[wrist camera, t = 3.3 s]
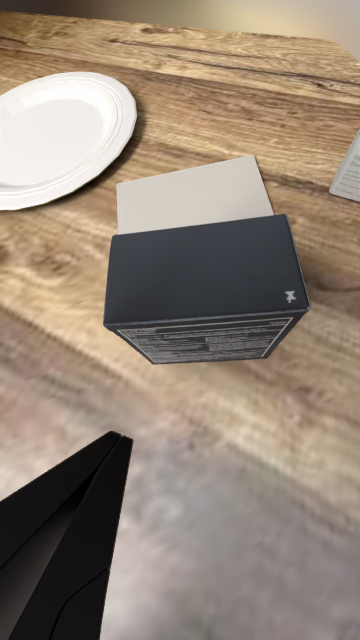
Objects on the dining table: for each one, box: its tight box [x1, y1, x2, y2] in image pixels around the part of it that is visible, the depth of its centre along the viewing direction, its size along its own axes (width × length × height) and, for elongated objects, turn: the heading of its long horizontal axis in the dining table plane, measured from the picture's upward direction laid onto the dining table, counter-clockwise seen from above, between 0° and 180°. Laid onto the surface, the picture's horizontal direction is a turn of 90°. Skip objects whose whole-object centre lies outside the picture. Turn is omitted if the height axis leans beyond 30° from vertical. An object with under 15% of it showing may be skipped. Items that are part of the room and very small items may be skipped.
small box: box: [103, 214, 311, 364], centre depth 18 cm, size 11×6×10 cm, turn 92°
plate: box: [0, 72, 137, 211], centre depth 35 cm, size 29×29×2 cm
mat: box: [117, 155, 274, 235], centre depth 27 cm, size 16×17×1 cm
